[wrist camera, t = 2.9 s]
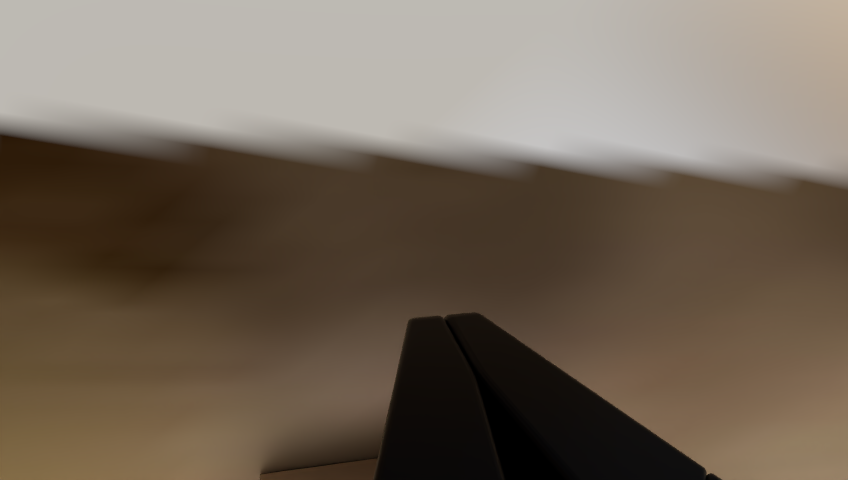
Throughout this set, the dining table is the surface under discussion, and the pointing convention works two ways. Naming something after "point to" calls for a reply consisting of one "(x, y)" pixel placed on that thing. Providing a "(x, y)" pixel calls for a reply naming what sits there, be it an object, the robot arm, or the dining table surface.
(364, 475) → the tray
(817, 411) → the dining table surface
